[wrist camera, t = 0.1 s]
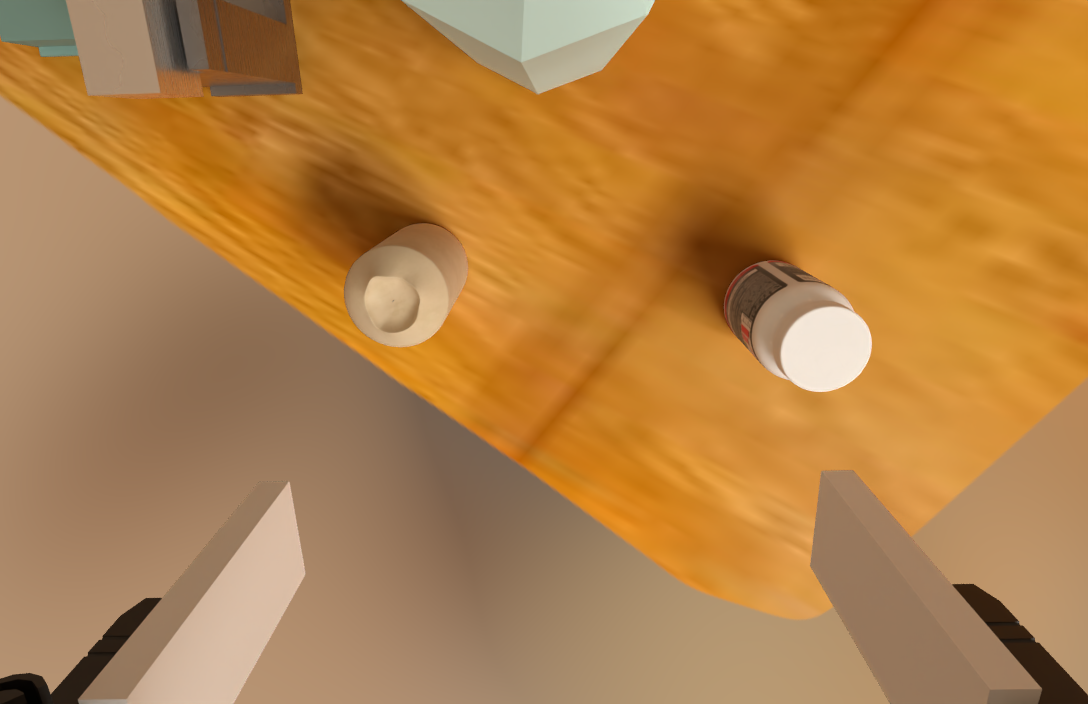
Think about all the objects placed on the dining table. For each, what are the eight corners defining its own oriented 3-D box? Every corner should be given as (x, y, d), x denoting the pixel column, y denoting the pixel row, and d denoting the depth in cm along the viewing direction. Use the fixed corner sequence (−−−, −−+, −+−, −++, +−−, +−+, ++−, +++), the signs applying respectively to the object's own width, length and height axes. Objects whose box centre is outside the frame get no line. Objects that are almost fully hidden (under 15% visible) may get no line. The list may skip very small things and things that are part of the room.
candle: (369, 240, 42) (315, 273, 33) (448, 209, 42) (416, 233, 32) (405, 318, 44) (364, 370, 35) (482, 289, 43) (461, 334, 34)
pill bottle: (735, 354, 44) (783, 416, 35) (711, 276, 43) (755, 319, 33) (819, 326, 44) (892, 380, 34) (798, 245, 42) (869, 279, 33)
